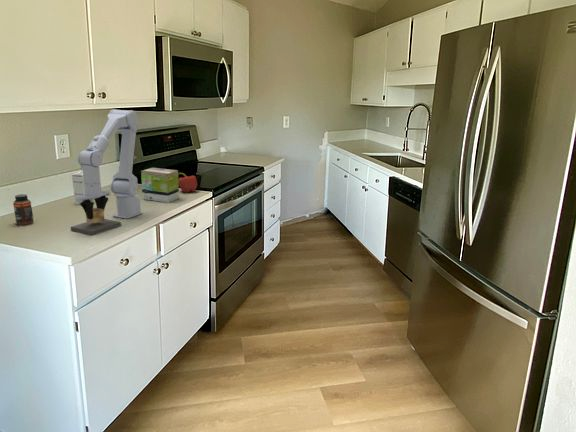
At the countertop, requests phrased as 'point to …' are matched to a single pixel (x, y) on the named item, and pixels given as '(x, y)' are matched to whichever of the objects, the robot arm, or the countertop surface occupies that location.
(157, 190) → the tea box
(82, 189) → the syrup box
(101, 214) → the oak cube
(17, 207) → the supplement bottle
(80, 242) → the countertop surface
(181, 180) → the vegetable
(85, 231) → the charcoal mat
